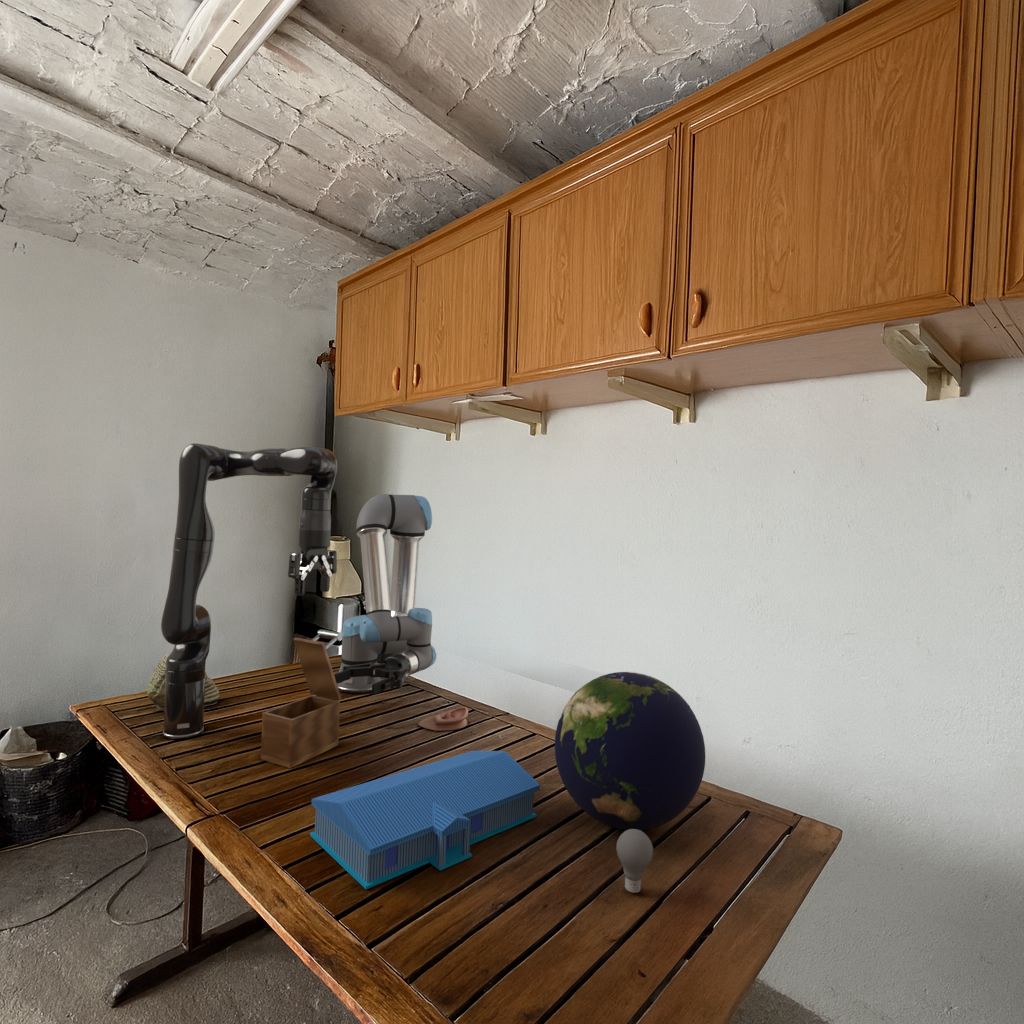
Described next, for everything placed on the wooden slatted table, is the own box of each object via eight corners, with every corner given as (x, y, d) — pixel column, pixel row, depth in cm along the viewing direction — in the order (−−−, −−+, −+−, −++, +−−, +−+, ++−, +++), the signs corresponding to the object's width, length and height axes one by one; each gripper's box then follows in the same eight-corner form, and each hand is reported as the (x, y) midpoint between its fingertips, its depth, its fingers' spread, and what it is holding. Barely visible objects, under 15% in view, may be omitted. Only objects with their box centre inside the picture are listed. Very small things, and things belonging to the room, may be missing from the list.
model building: (376, 899, 100) (378, 836, 100) (308, 834, 119) (310, 781, 118) (548, 822, 127) (550, 773, 127) (472, 779, 145) (474, 735, 145)
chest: (290, 768, 147) (292, 720, 147) (260, 759, 151) (262, 712, 151) (338, 745, 162) (340, 701, 161) (310, 737, 166) (311, 695, 166)
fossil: (144, 707, 182) (145, 655, 182) (212, 696, 194) (213, 647, 194) (151, 716, 175) (153, 662, 175) (221, 703, 188) (223, 653, 188)
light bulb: (610, 879, 108) (613, 822, 108) (644, 879, 109) (647, 822, 109) (619, 902, 102) (622, 840, 102) (655, 901, 103) (658, 840, 103)
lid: (322, 644, 154) (344, 625, 161) (292, 639, 159) (315, 620, 166) (339, 700, 161) (359, 679, 168) (310, 694, 165) (331, 674, 172)
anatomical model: (414, 713, 175) (428, 701, 186) (414, 728, 175) (427, 714, 186) (460, 719, 172) (471, 706, 184) (460, 733, 172) (471, 719, 184)
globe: (530, 838, 120) (537, 682, 120) (575, 777, 148) (580, 650, 148) (692, 880, 109) (701, 707, 109) (708, 805, 137) (715, 668, 136)
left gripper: (305, 529, 149) (302, 598, 149) (346, 528, 162) (343, 591, 162) (281, 527, 152) (279, 595, 152) (323, 526, 165) (321, 588, 165)
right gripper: (434, 686, 185) (389, 707, 166) (366, 670, 196) (317, 689, 177) (435, 661, 185) (391, 679, 166) (367, 646, 196) (318, 662, 177)
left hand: (312, 593), depth 157 cm, fingers open, 8 cm apart
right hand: (352, 684), depth 171 cm, fingers open, 13 cm apart
